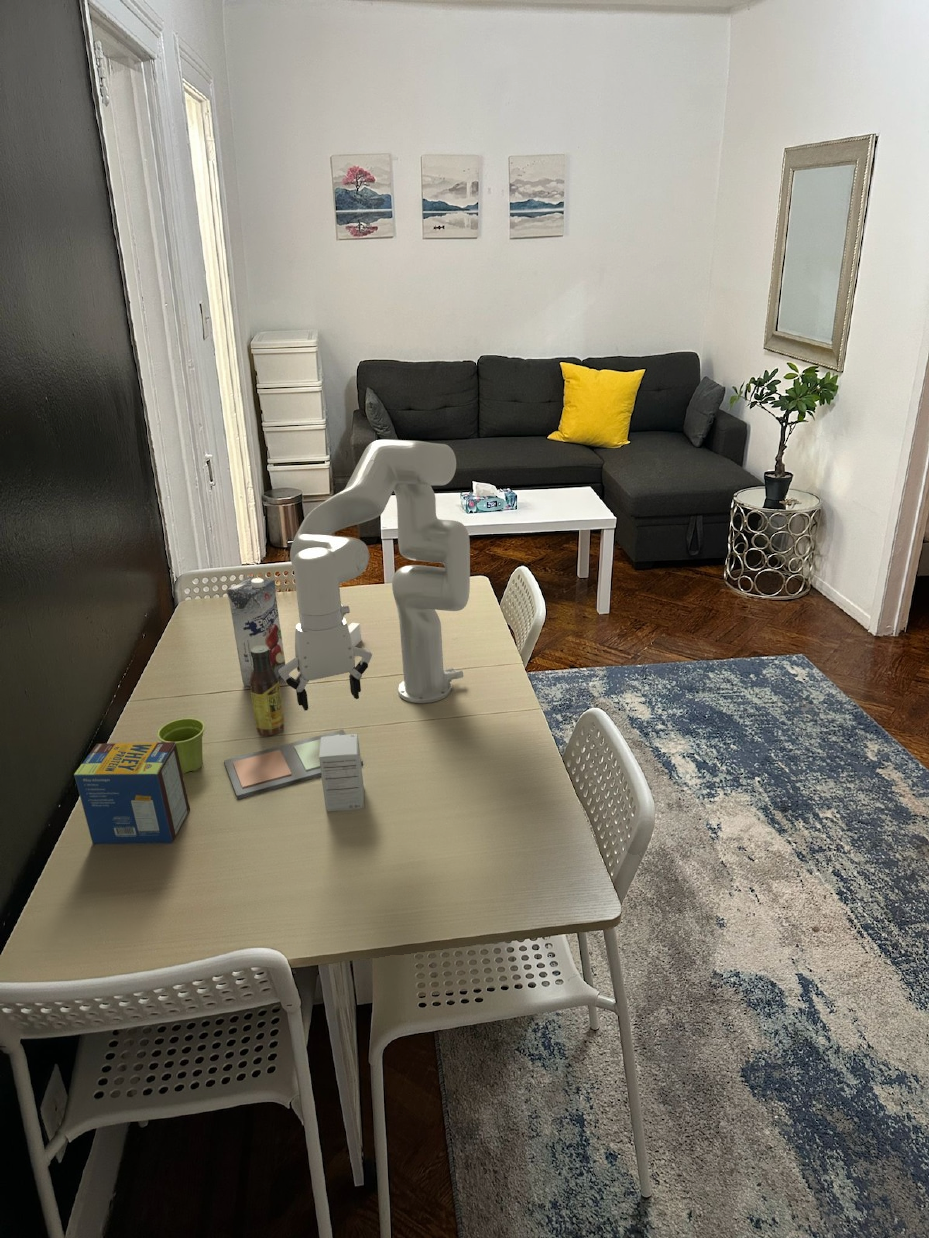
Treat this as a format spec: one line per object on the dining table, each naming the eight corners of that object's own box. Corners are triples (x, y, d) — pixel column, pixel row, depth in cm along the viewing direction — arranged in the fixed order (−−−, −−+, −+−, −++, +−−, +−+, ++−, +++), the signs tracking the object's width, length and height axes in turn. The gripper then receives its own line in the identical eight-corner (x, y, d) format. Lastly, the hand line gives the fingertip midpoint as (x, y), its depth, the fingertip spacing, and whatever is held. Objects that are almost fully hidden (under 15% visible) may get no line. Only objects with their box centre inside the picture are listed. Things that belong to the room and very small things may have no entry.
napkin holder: (359, 635, 242) (358, 616, 240) (379, 650, 233) (377, 630, 231) (309, 650, 235) (306, 630, 232) (327, 666, 226) (324, 646, 224)
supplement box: (327, 790, 176) (320, 735, 171) (364, 786, 176) (358, 732, 171) (325, 812, 169) (317, 756, 164) (363, 809, 169) (358, 753, 164)
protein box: (113, 810, 172) (96, 742, 166) (191, 809, 172) (177, 741, 165) (90, 845, 163) (72, 774, 157) (173, 844, 162) (157, 773, 156)
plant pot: (219, 756, 188) (213, 721, 185) (193, 781, 180) (186, 745, 177) (182, 750, 191) (175, 715, 188) (155, 774, 183) (147, 738, 180)
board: (343, 732, 195) (342, 728, 195) (363, 764, 183) (362, 759, 183) (224, 763, 186) (223, 759, 185) (237, 798, 174) (236, 794, 174)
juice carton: (237, 687, 216) (220, 585, 205) (262, 668, 225) (246, 569, 214) (268, 692, 213) (252, 589, 202) (291, 673, 222) (278, 573, 211)
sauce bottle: (278, 738, 194) (266, 657, 186) (252, 736, 195) (239, 655, 187) (289, 722, 200) (278, 643, 192) (263, 720, 201) (251, 642, 193)
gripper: (361, 601, 164) (368, 683, 171) (268, 618, 158) (279, 703, 165) (373, 615, 158) (380, 700, 165) (277, 634, 152) (288, 721, 158)
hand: (330, 701), depth 165 cm, fingers open, 9 cm apart
